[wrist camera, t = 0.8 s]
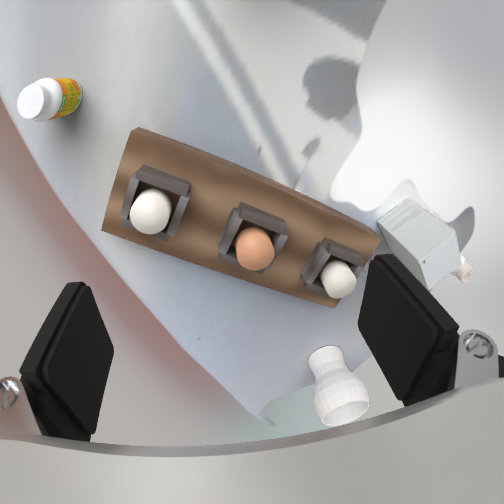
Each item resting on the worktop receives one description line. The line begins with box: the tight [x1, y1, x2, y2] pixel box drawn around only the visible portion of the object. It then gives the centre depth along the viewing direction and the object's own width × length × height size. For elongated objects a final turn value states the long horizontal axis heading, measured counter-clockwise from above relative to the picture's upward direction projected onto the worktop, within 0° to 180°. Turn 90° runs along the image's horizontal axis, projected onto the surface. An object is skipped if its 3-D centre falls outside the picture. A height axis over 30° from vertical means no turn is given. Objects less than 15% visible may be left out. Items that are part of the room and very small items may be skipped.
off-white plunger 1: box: [130, 188, 172, 234], centre depth 33 cm, size 4×4×3 cm
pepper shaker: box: [450, 254, 474, 283], centre depth 47 cm, size 4×4×10 cm
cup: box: [308, 346, 369, 426], centre depth 55 cm, size 11×11×15 cm
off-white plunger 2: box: [320, 260, 356, 298], centre depth 41 cm, size 4×4×3 cm
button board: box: [101, 127, 382, 308], centre depth 41 cm, size 14×38×7 cm, turn 64°
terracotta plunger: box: [235, 227, 274, 271], centre depth 37 cm, size 4×4×3 cm
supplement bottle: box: [17, 78, 82, 122], centre depth 27 cm, size 5×5×10 cm
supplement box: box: [377, 198, 462, 291], centre depth 42 cm, size 7×7×13 cm
